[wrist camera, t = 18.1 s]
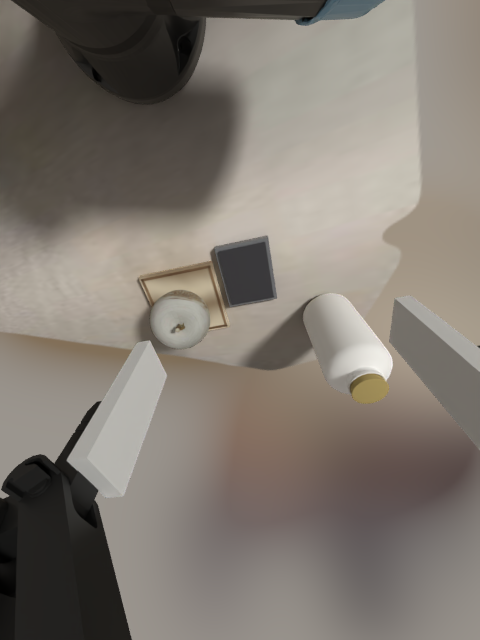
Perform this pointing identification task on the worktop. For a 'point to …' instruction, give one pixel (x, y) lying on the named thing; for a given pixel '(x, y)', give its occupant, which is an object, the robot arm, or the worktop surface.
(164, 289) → the board
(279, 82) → the worktop surface
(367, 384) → the potion bottle
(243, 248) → the ink pad
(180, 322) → the decorative object
